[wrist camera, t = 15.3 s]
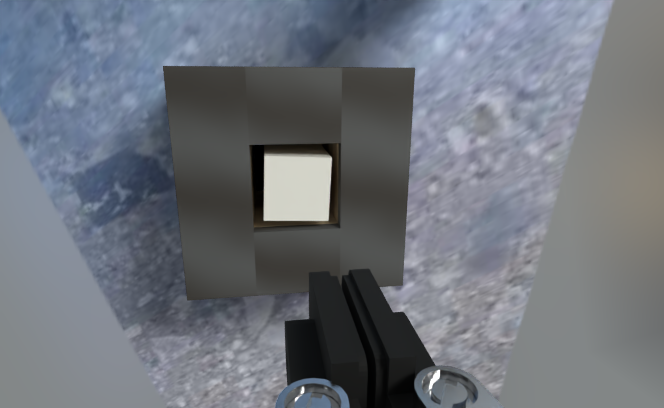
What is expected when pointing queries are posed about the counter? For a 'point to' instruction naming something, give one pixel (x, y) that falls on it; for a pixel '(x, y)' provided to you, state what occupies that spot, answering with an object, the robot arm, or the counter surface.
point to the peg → (296, 182)
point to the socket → (288, 128)
